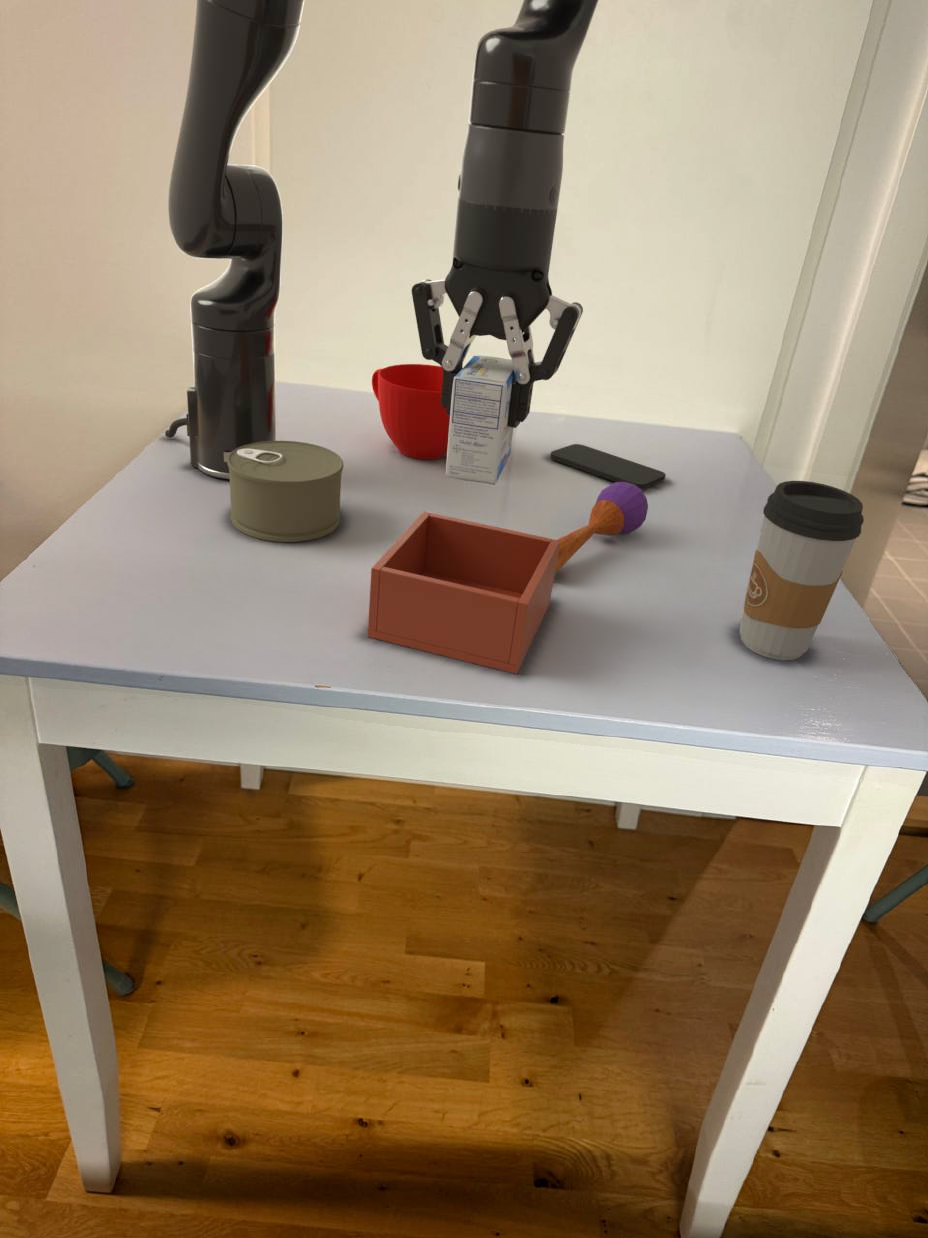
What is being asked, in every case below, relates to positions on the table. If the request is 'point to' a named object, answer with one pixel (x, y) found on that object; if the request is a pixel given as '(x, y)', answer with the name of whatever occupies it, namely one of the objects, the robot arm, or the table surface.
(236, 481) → the can
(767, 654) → the coffee cup
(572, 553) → the purple and orange maraca
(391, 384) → the ceramic cup
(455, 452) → the medicine box
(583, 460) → the phone
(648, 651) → the table surface
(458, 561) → the bin
